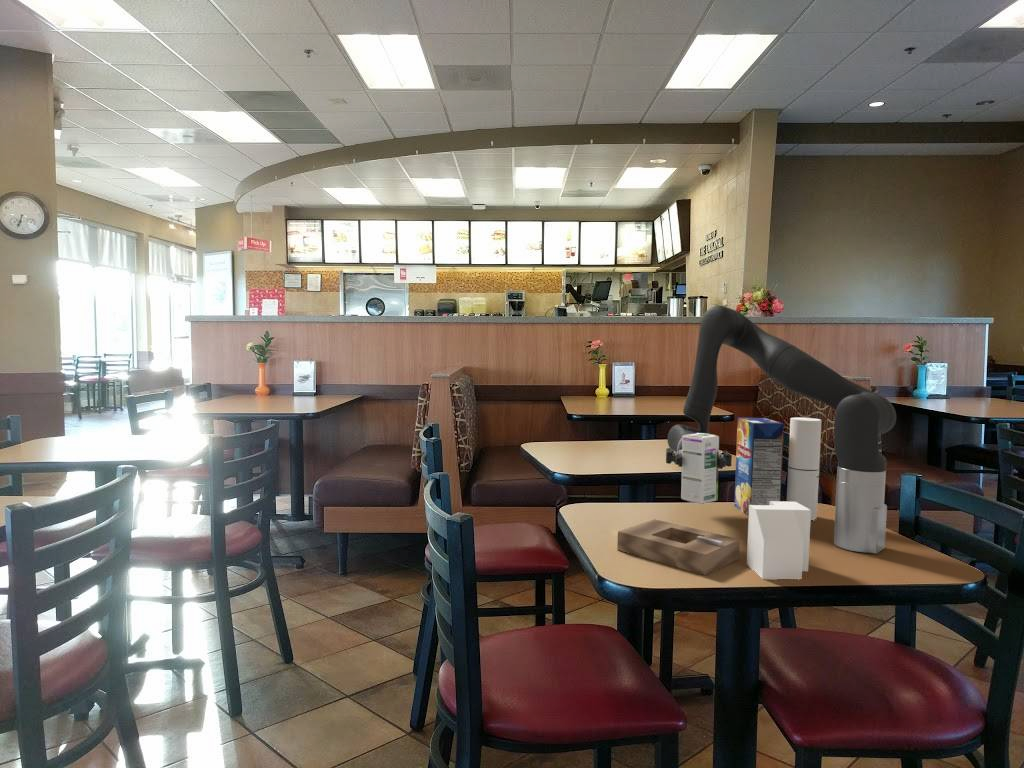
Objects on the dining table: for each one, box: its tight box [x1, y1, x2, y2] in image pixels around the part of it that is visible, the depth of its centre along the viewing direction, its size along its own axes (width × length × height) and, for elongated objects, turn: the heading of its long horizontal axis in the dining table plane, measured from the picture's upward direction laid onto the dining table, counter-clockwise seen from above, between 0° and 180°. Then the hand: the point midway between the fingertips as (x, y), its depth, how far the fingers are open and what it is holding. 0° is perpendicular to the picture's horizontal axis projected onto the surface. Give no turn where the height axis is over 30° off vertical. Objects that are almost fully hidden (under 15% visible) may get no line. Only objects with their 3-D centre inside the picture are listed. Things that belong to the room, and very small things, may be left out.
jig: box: [616, 519, 741, 576], centre depth 134 cm, size 20×14×5 cm
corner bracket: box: [746, 500, 812, 581], centre depth 126 cm, size 11×11×12 cm
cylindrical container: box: [786, 417, 822, 521], centre depth 165 cm, size 7×7×25 cm
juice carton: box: [733, 417, 785, 518], centre depth 169 cm, size 12×8×24 cm, turn 0°
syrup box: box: [680, 433, 720, 505], centre depth 142 cm, size 6×6×14 cm
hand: (700, 463), depth 141 cm, fingers closed on syrup box, 8 cm apart
